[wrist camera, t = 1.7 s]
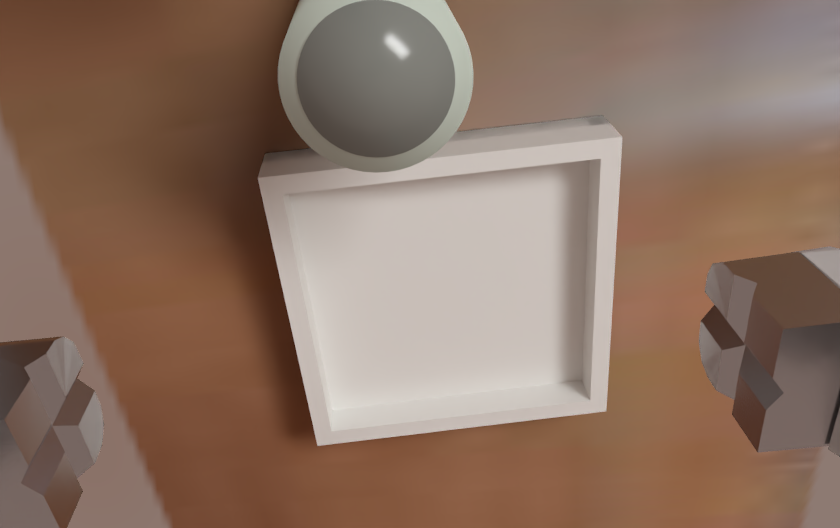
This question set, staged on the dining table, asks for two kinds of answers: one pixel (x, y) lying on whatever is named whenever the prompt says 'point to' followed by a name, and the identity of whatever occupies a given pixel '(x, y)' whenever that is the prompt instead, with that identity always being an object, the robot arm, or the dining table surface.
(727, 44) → the dining table surface
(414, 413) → the grey tray
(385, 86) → the sage cup
